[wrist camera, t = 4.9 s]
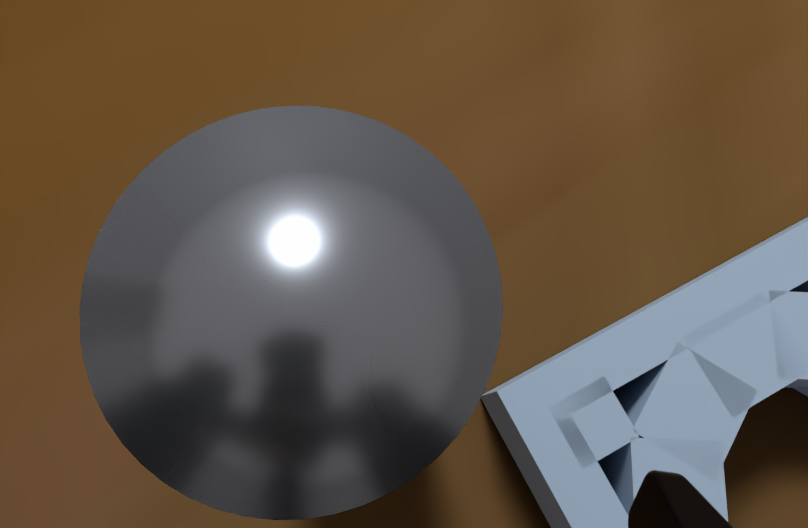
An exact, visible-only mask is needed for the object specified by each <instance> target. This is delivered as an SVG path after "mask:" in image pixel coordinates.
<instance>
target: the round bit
mask: <svg viewBox="0 0 808 528" xmlns="http://www.w3.org/2000/svg"><path fill="white" fill-rule="evenodd" d="M502 311H503V304H502V286H501V277H500V272H499V267H498V262H497V256H496V253H495V250H494V247H493V244H492V241H491V238H490V235H489V232H488V230H487V227H486V225H485V223H484V221H483V219H482V217H481V215H480V213H479V211H478V209H477V207H476V206H475V204H474V202H473V201H472V199H471V198H470V196H469V195H468V193H467V192H466V190H465V189H464V187H463V186H462V185H461V184H460V182H459V181H458V180H457V179H456V178H455V177H454V175H453V174H452V173H451V172H450V171H449V169H448V168H447V167H446V166H445V165H444V164H442V163H441V162H440V161H439V160H438V159H437V158H436V157H435V156H434V155H432V154H431V153H430V152H429V151H428V150H427V149H425V148H424V147H422V146H421V145H420V144H418V143H417V142H415V141H414V140H412V139H411V138H410V137H408V136H406V135H405V134H403V133H401V132H399V131H397V130H395V129H393V128H391V127H389V126H388V125H386V124H383V123H381V122H378V121H375V120H373V119H370V118H367V117H365V116H362V115H359V114H355V113H350V112H346V111H342V110H338V109H332V108H324V107H315V106H281V107H273V108H264V109H258V110H254V111H250V112H245V113H241V114H237V115H234V116H231V117H228V118H225V119H223V120H220V121H217V122H214V123H212V124H209V125H208V126H206V127H204V128H202V129H200V130H198V131H196V132H194V133H192V134H190V135H188V136H186V137H185V138H183V139H182V140H180V141H179V142H177V143H176V144H174V145H173V146H171V147H170V148H168V149H167V150H165V151H164V152H163V153H162V154H160V155H159V156H158V157H157V158H156V159H155V160H153V161H152V162H151V163H150V164H149V165H148V166H146V167H145V168H144V169H143V171H142V172H141V173H140V174H139V175H138V176H137V177H136V178H135V179H134V180H133V181H132V183H131V184H130V185H129V186H128V187H127V188H126V190H125V191H124V192H123V194H122V195H121V197H120V198H119V199H118V201H117V202H116V204H115V205H114V206H113V208H112V209H111V211H110V213H109V215H108V217H107V218H106V220H105V222H104V224H103V226H102V228H101V230H100V231H99V233H98V236H97V238H96V241H95V244H94V246H93V249H92V252H91V254H90V257H89V260H88V264H87V268H86V272H85V276H84V281H83V285H82V294H81V304H80V340H81V346H82V352H83V358H84V363H85V369H86V372H87V375H88V378H89V381H90V384H91V387H92V390H93V393H94V396H95V398H96V400H97V402H98V404H99V406H100V408H101V410H102V412H103V414H104V416H105V418H106V420H107V422H108V423H109V425H110V426H111V428H112V429H113V430H114V432H115V433H116V435H117V436H118V438H119V439H120V441H121V442H122V444H123V445H124V446H125V447H126V448H127V449H128V450H129V451H130V452H131V453H132V454H133V456H134V457H135V458H136V459H137V460H138V461H139V462H140V463H141V464H142V465H143V466H144V467H145V468H147V469H148V470H149V471H150V472H152V473H153V474H154V475H155V476H156V477H158V478H159V479H160V480H161V481H163V482H164V483H165V484H167V485H169V486H170V487H172V488H174V489H175V490H177V491H179V492H180V493H182V494H184V495H185V496H187V497H189V498H191V499H193V500H196V501H198V502H201V503H203V504H205V505H208V506H210V507H212V508H215V509H218V510H222V511H225V512H229V513H233V514H237V515H241V516H245V517H253V518H262V519H271V520H292V519H309V518H315V517H321V516H327V515H333V514H337V513H340V512H343V511H346V510H350V509H353V508H356V507H359V506H363V505H365V504H367V503H369V502H371V501H373V500H376V499H378V498H380V497H382V496H384V495H386V494H388V493H390V492H392V491H394V490H395V489H397V488H398V487H400V486H401V485H403V484H405V483H406V482H408V481H409V480H411V479H412V478H414V477H415V476H416V475H418V474H419V473H420V472H421V471H422V470H424V469H425V468H426V467H427V466H428V465H429V464H431V463H432V462H433V461H434V460H435V459H437V458H438V457H439V455H440V454H441V453H442V452H443V451H444V450H445V449H446V448H447V447H448V446H449V444H450V443H451V442H452V441H453V440H454V439H455V438H456V437H457V435H458V434H459V432H460V431H461V430H462V428H463V427H464V425H465V424H466V422H467V421H468V419H469V418H470V416H471V415H472V414H473V412H474V410H475V408H476V406H477V404H478V402H479V400H480V398H481V396H482V394H483V392H484V390H485V388H486V386H487V383H488V380H489V377H490V374H491V372H492V369H493V366H494V363H495V359H496V355H497V350H498V345H499V340H500V336H501V324H502Z"/></svg>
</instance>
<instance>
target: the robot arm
mask: <svg viewBox="0 0 808 528" xmlns="http://www.w3.org/2000/svg"><path fill="white" fill-rule="evenodd" d="M628 528H733V527H732V526H731V525H730V524H729V523H728V522H727V521H726V520H725V518H724V517H723V516H722V515H721V514H720V513H719V512H718V511H717V510H716V509H715V508H714V507H713V506H712V505H711V504H710V503H709V502H708V501H707V500H706V499H705V498H704V496H703V495H702V494H701V493H700V492H699V491H698V490H697V489H696V488H695V487H694V486H693V485H692V484H691V483H690V482H689V481H688V480H687V479H686V478H685V477H684V476H682V475H681V474H678V473H673V472H666V471H658V470H651V471H649V472H648V473H647V474H646V476H645V477H644V479H643V482H642V484H641V486H640V488H639V490H638V492H637V494H636V497H635V499H634V501H633V503H632V505H631V508H630V510H629V515H628Z"/></svg>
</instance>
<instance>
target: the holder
mask: <svg viewBox="0 0 808 528" xmlns="http://www.w3.org/2000/svg"><path fill="white" fill-rule="evenodd" d="M617 388H618V390H617V392H616V394H614V392H613V390H615V389H617ZM782 388H794V389H795V390H797V391H799V392H800V393H802V394H804V395H805V396H807V397H808V217H807V218H805V219H803V220H801V221H799V222H798V223H796V224H794V225H792V226H790V227H788V228H787V229H785V230H783V231H781V232H779V233H777V234H776V235H774V236H772V237H770V238H768V239H767V240H765V241H763V242H761V243H759V244H757V245H756V246H754V247H752V248H750V249H748V250H746V251H745V252H743V253H741V254H739V255H737V256H735V257H734V258H732V259H730V260H728V261H726V262H724V263H723V264H721V265H719V266H717V267H715V268H714V269H712V270H710V271H708V272H706V273H704V274H703V275H701V276H699V277H697V278H695V279H693V280H692V281H690V282H688V283H686V284H684V285H682V286H681V287H679V288H677V289H675V290H673V291H671V292H670V293H668V294H666V295H664V296H662V297H661V298H659V299H657V300H655V301H653V302H651V303H650V304H648V305H646V306H644V307H642V308H640V309H639V310H637V311H635V312H633V313H631V314H629V315H628V316H626V317H624V318H622V319H620V320H618V321H617V322H615V323H613V324H611V325H609V326H607V327H606V328H604V329H602V330H600V331H598V332H597V333H595V334H593V335H591V336H589V337H587V338H586V339H584V340H582V341H580V342H578V343H576V344H575V345H573V346H571V347H569V348H567V349H565V350H564V351H562V352H560V353H558V354H556V355H554V356H553V357H551V358H549V359H547V360H545V361H544V362H542V363H540V364H538V365H536V366H534V367H533V368H531V369H529V370H527V371H525V372H523V373H522V374H520V375H518V376H516V377H514V378H512V379H511V380H509V381H507V382H505V383H503V384H501V385H500V386H498V387H496V388H494V389H492V390H491V391H489V392H487V393H485V394H483V395H482V396H481V399H482V401H483V403H484V405H485V407H486V409H487V411H488V412H489V414H490V416H491V418H492V420H493V422H494V424H495V425H496V427H497V429H498V431H499V433H500V435H501V436H502V438H503V440H504V442H505V444H506V446H507V448H508V449H509V451H510V453H511V455H512V457H513V459H514V460H515V462H516V464H517V466H518V468H519V470H520V472H521V473H522V475H523V477H524V479H525V481H526V483H527V484H528V486H529V488H530V490H531V492H532V494H533V496H534V497H535V499H536V501H537V503H538V505H539V507H540V508H541V510H542V512H543V514H544V516H545V518H546V520H547V521H548V523H549V525H550V527H551V528H628V515H629V510H630V508H631V505H632V503H633V501H634V499H635V497H636V494H637V492H638V490H639V488H640V486H641V484H642V482H643V479H644V477H645V476H646V474H647V473H648V472H649V471H651V470H658V471H666V472H673V473H678V474H681V475H682V476H684V477H685V478H686V479H687V480H688V481H689V482H690V483H691V484H692V485H693V486H694V487H695V488H696V489H697V490H698V491H699V492H700V493H701V494H702V495H703V496H704V498H705V499H706V500H707V501H708V502H709V503H710V504H711V505H712V506H713V507H714V508H715V509H716V510H717V511H718V512H719V513H720V514H721V515H722V516H723V517H724V518H725V520H726V521H727V522H728V513H727V501H726V489H725V477H724V465H723V463H724V461H725V458H726V456H727V454H728V452H729V450H730V448H731V446H732V444H733V441H734V439H735V437H736V435H737V433H738V431H739V429H740V426H741V424H742V422H743V420H744V418H745V416H746V414H747V412H748V409H749V408H750V407H752V406H753V405H755V404H757V403H758V402H760V401H762V400H763V399H765V398H767V397H769V396H770V395H772V394H774V393H775V392H777V391H779V390H780V389H782Z"/></svg>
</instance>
